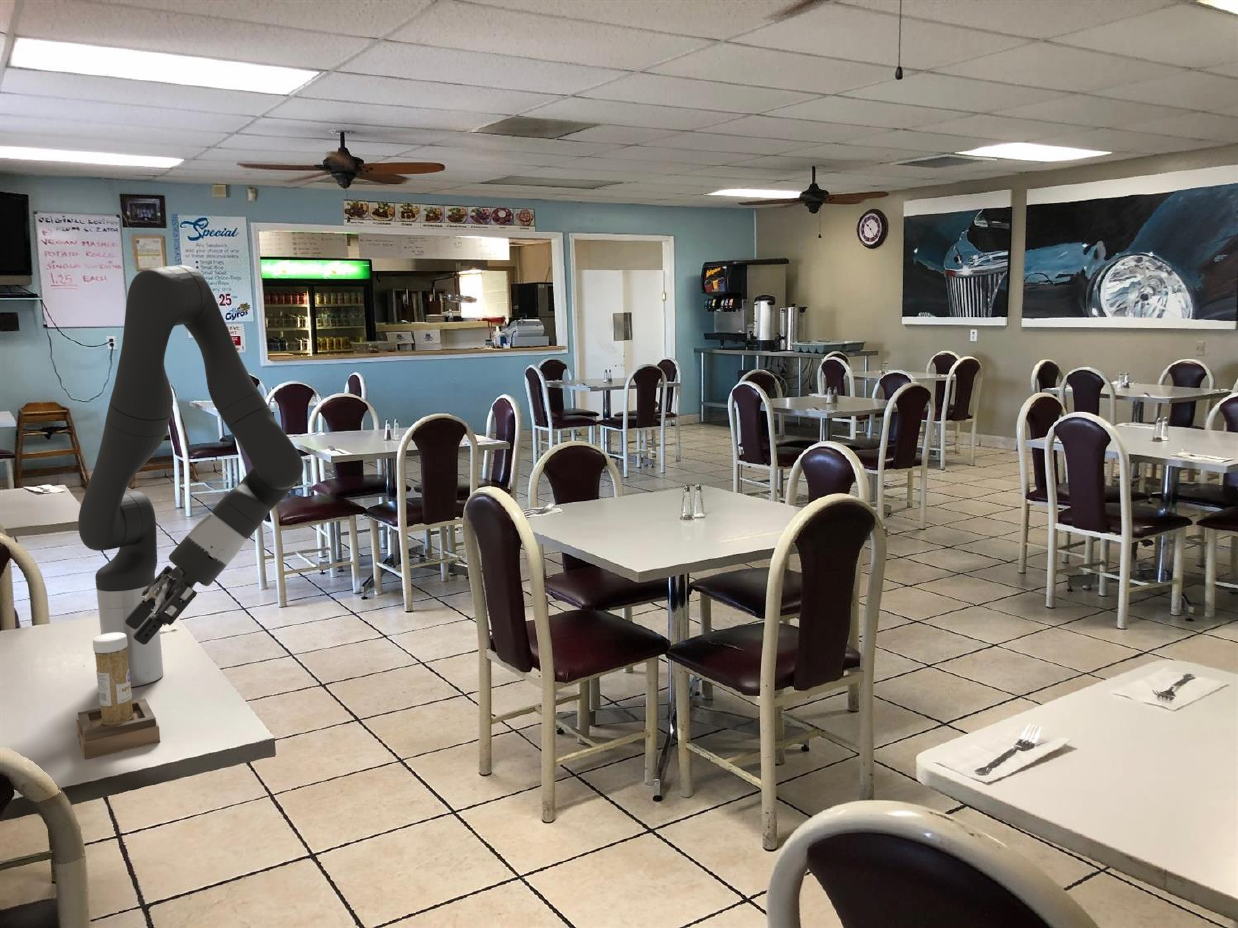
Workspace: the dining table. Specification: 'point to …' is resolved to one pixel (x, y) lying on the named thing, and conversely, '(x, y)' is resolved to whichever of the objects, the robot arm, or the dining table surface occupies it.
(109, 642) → the sprinkles bottle
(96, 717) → the walnut plinth
